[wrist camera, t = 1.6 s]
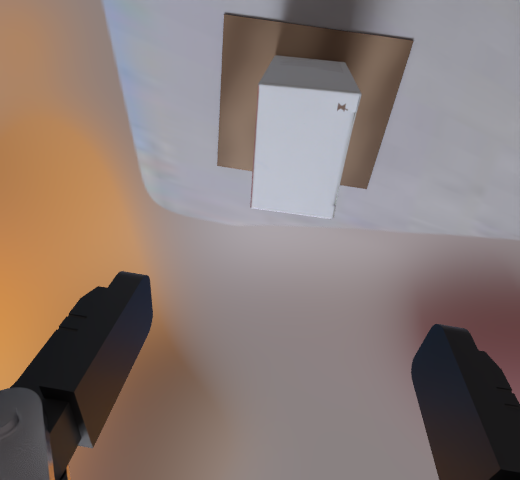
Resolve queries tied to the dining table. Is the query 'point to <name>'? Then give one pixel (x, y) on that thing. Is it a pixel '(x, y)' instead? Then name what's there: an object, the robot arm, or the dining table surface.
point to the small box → (302, 135)
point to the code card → (312, 47)
